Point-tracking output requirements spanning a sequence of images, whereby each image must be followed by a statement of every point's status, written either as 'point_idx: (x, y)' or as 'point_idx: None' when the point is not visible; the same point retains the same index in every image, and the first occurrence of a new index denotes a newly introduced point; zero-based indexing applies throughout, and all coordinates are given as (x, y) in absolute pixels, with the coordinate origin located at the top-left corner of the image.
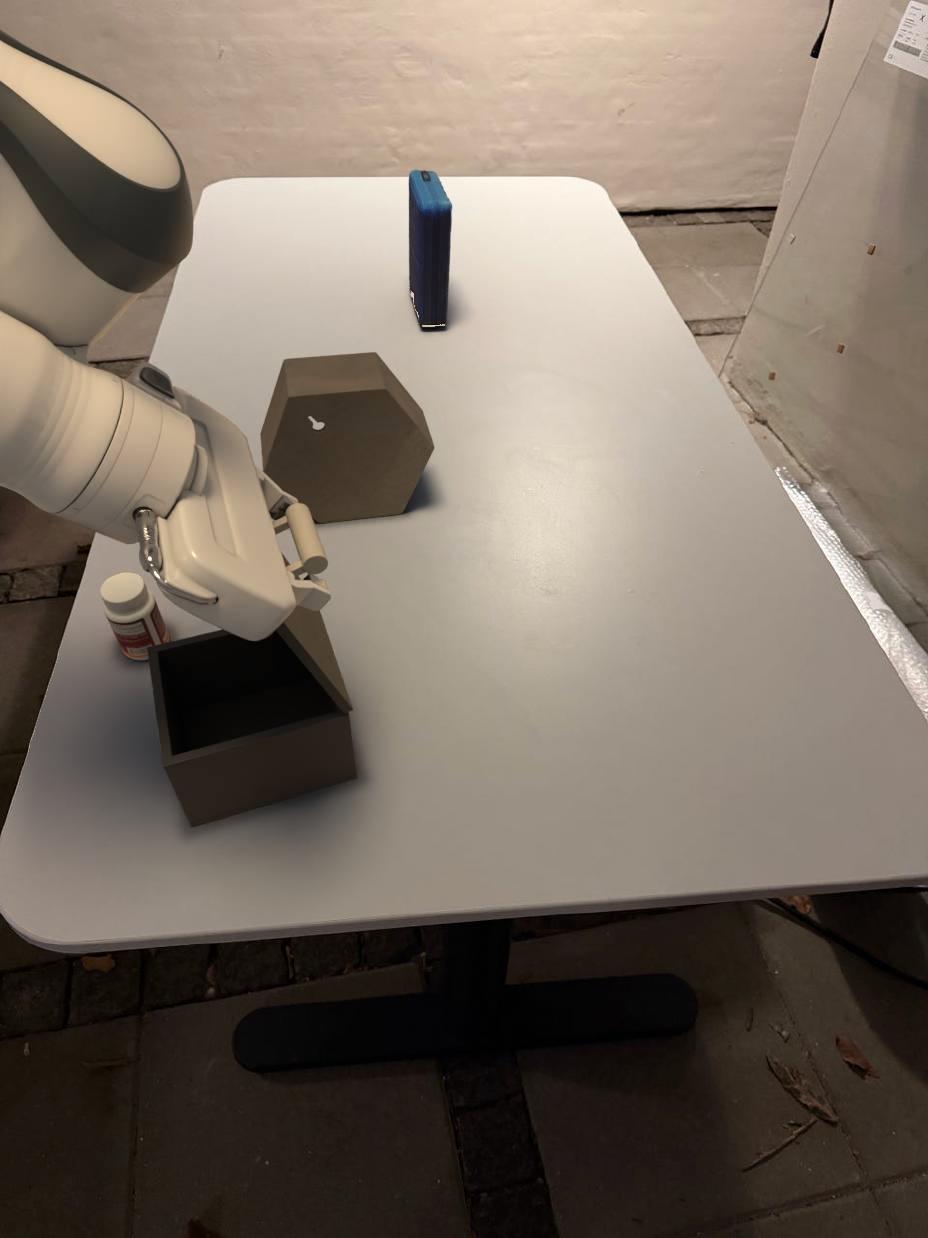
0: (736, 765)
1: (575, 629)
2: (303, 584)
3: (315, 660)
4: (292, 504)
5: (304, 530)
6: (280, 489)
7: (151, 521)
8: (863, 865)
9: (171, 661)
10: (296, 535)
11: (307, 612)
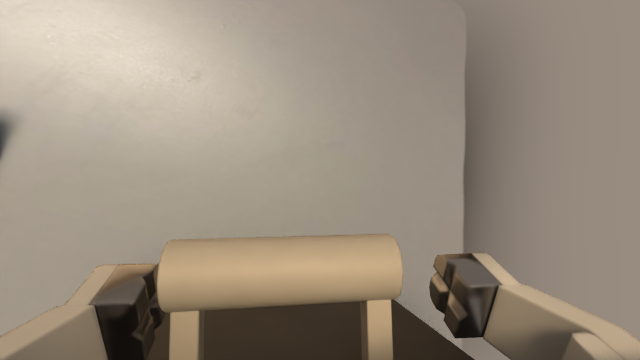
0: (391, 45)
1: (246, 77)
2: (566, 309)
3: (411, 316)
4: (139, 282)
5: (293, 267)
6: (60, 309)
7: None
8: (461, 27)
9: None
10: (295, 294)
11: (261, 310)
